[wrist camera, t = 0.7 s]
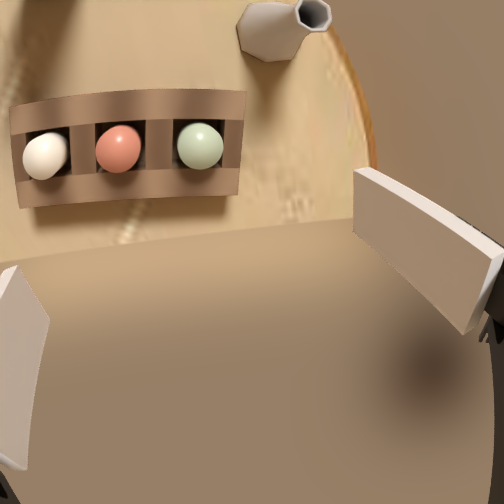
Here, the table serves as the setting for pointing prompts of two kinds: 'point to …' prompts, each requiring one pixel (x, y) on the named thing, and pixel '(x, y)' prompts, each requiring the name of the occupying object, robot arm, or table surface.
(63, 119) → the console
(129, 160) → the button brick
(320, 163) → the table surface
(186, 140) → the button sage
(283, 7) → the flask
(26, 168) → the button ivory
